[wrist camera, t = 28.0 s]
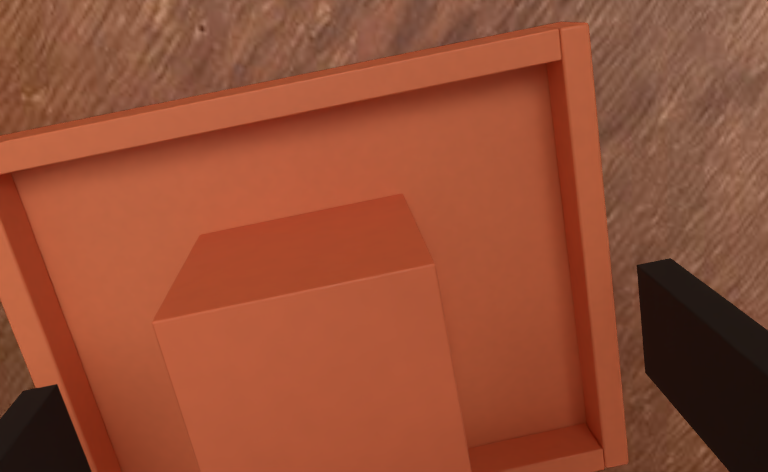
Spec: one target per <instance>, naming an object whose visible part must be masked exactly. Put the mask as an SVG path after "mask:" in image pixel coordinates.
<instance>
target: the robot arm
mask: <svg viewBox="0 0 768 472" xmlns="http://www.w3.org/2000/svg"><path fill="white" fill-rule="evenodd" d="M637 273H638V286H639V298H640V311H641V323H642V336H643V349H644V361H645V373H646V374H647V375H648V376H649V378H650V379H651V380H652V381H653V382H654V383H655V385H656V386H657V387H658V388H659V389H660V390H661V392H662V393H663V394H664V395H665V396H666V397H667V399H668V400H669V401H670V402H671V403H672V405H673V406H674V407H675V408H676V409H677V410H678V412H679V413H680V414H681V415H682V416H683V417H684V419H685V420H686V421H687V422H688V423H689V424H690V426H691V427H692V428H693V429H694V430H695V432H696V433H697V434H698V435H699V436H700V437H701V439H702V440H703V441H704V442H705V443H706V444H707V446H708V447H709V448H710V449H711V450H712V451H713V453H714V454H715V455H716V456H717V457H718V459H719V460H720V461H721V462H722V463H723V464H724V466H725V467H726V468H727V469H728V470H729V471H730V472H768V330H766V329H765V328H764V327H762V326H761V325H760V324H758V323H757V322H756V321H754V320H753V319H752V318H750V317H749V316H748V315H746V314H745V313H743V312H742V311H741V310H739V309H738V308H737V307H735V306H734V305H733V304H731V303H730V302H729V301H727V300H726V299H725V298H723V297H722V296H721V295H719V294H718V293H717V292H715V291H714V290H713V289H711V288H710V287H709V286H707V285H706V284H705V283H703V282H702V281H700V280H699V279H698V278H696V277H695V276H694V275H692V274H691V273H690V272H688V271H687V270H686V269H684V268H683V267H682V266H680V265H679V264H678V263H676V262H675V261H674V260H672V259H671V258H670V259H665V260H660V261H655V262H650V263H645V264H640V265H637ZM0 472H92V471H91V469H90V466H89V464H88V461H87V458H86V456H85V453H84V451H83V448H82V446H81V443H80V441H79V438H78V436H77V433H76V431H75V428H74V426H73V423H72V420H71V418H70V415H69V413H68V410H67V408H66V405H65V403H64V400H63V398H62V395H61V393H60V390H59V387H58V385H57V384H55V385H50V386H45V387H40V388H35V389H30V390H26V391H23V392H22V393H21V394H20V396H19V397H18V398H17V399H16V400H15V402H14V403H13V404H12V405H11V407H10V408H9V409H8V410H7V411H6V413H5V414H4V415H3V416H2V417H1V419H0Z"/></svg>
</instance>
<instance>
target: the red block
mask: <svg viewBox="0 0 768 472" xmlns="http://www.w3.org/2000/svg"><path fill="white" fill-rule="evenodd" d="M152 326H153V329H154V332H155V335H156V338H157V341H158V345H159V348H160V351H161V354H162V357H163V360H164V363H165V366H166V369H167V372H168V375H169V378H170V382H171V385H172V388H173V391H174V394H175V397H176V400H177V403H178V406H179V409H180V412H181V415H182V418H183V422H184V425H185V428H186V431H187V434H188V437H189V440H190V443H191V446H192V449H193V452H194V455H195V459H196V462H197V465H198V468H199V471H200V472H472V470H471V464H470V458H469V453H468V447H467V441H466V435H465V430H464V424H463V418H462V412H461V407H460V401H459V395H458V389H457V384H456V378H455V372H454V367H453V361H452V355H451V349H450V344H449V338H448V332H447V326H446V321H445V315H444V309H443V304H442V298H441V292H440V286H439V281H438V275H437V269H436V264H435V262H434V260H433V258H432V256H431V253H430V251H429V249H428V247H427V245H426V243H425V240H424V238H423V236H422V234H421V232H420V230H419V227H418V225H417V223H416V221H415V219H414V217H413V214H412V212H411V210H410V208H409V206H408V204H407V201H406V199H405V197H404V195H403V194H397V195H392V196H387V197H382V198H377V199H372V200H367V201H362V202H357V203H353V204H348V205H343V206H338V207H333V208H328V209H323V210H318V211H314V212H309V213H304V214H299V215H294V216H289V217H284V218H279V219H274V220H270V221H265V222H260V223H255V224H250V225H245V226H240V227H235V228H230V229H226V230H221V231H216V232H211V233H206V234H201V235H199V237H198V239H197V241H196V242H195V244H194V246H193V248H192V250H191V252H190V253H189V255H188V257H187V259H186V261H185V262H184V264H183V266H182V268H181V270H180V272H179V273H178V275H177V277H176V279H175V281H174V282H173V284H172V286H171V288H170V290H169V292H168V293H167V295H166V297H165V299H164V301H163V303H162V304H161V306H160V308H159V310H158V312H157V313H156V315H155V317H154V319H153V321H152Z"/></svg>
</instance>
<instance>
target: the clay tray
mask: <svg viewBox="0 0 768 472" xmlns="http://www.w3.org/2000/svg"><path fill="white" fill-rule="evenodd" d="M397 194H403V195H404V197H405V199H406V201H407V204H408V206H409V208H410V210H411V212H412V214H413V217H414V219H415V221H416V223H417V225H418V227H419V230H420V232H421V234H422V236H423V238H424V240H425V243H426V245H427V247H428V249H429V251H430V253H431V256H432V258H433V260H434V262H435V264H436V269H437V275H438V281H439V286H440V292H441V298H442V304H443V309H444V315H445V321H446V326H447V332H448V338H449V344H450V349H451V355H452V361H453V367H454V372H455V378H456V384H457V389H458V395H459V401H460V407H461V412H462V418H463V424H464V430H465V435H466V441H467V447H468V453H469V458H470V464H471V470H472V472H594V471H599V470H603V469H604V468H605V467H606V468H611V467H615V466H620V465H624V464H627V463H628V462H629V459H628V448H627V437H626V427H625V416H624V405H623V394H622V383H621V372H620V361H619V350H618V339H617V328H616V317H615V306H614V295H613V284H612V273H611V263H610V252H609V241H608V230H607V219H606V208H605V197H604V186H603V175H602V164H601V153H600V142H599V131H598V120H597V109H596V98H595V88H594V77H593V66H592V55H591V44H590V33H589V25H588V23H579V22H557V23H552V24H547V25H542V26H538V27H533V28H528V29H523V30H518V31H513V32H508V33H503V34H498V35H493V36H488V37H483V38H478V39H474V40H469V41H464V42H459V43H454V44H449V45H444V46H439V47H434V48H429V49H424V50H419V51H414V52H409V53H405V54H400V55H395V56H390V57H385V58H380V59H375V60H370V61H365V62H360V63H355V64H350V65H345V66H341V67H336V68H331V69H326V70H321V71H316V72H311V73H306V74H301V75H296V76H291V77H286V78H281V79H276V80H272V81H267V82H262V83H257V84H252V85H247V86H242V87H237V88H232V89H227V90H222V91H217V92H212V93H207V94H203V95H198V96H193V97H188V98H183V99H178V100H173V101H168V102H163V103H158V104H153V105H148V106H143V107H139V108H134V109H129V110H124V111H119V112H114V113H109V114H104V115H99V116H94V117H89V118H84V119H79V120H74V121H70V122H65V123H60V124H55V125H50V126H45V127H40V128H35V129H30V130H25V131H20V132H15V133H10V134H6V135H1V136H0V300H1V303H2V305H3V308H4V310H5V313H6V315H7V318H8V320H9V323H10V325H11V328H12V330H13V333H14V335H15V338H16V340H17V343H18V345H19V348H20V350H21V353H22V355H23V358H24V360H25V363H26V365H27V368H28V370H29V373H30V375H31V378H32V380H33V382H34V385H35V387H36V388H40V387H45V386H50V385H55V384H57V385H58V387H59V390H60V393H61V395H62V398H63V400H64V403H65V405H66V408H67V410H68V413H69V415H70V418H71V420H72V423H73V426H74V428H75V431H76V433H77V436H78V438H79V441H80V443H81V446H82V448H83V451H84V453H85V456H86V458H87V461H88V464H89V466H90V469H91V471H92V472H200V471H199V468H198V465H197V462H196V459H195V455H194V452H193V449H192V446H191V443H190V440H189V437H188V434H187V431H186V428H185V425H184V422H183V418H182V415H181V412H180V409H179V406H178V403H177V400H176V397H175V394H174V391H173V388H172V385H171V382H170V378H169V375H168V372H167V369H166V366H165V363H164V360H163V357H162V354H161V351H160V348H159V345H158V341H157V338H156V335H155V332H154V329H153V326H152V321H153V319H154V317H155V315H156V313H157V312H158V310H159V308H160V306H161V304H162V303H163V301H164V299H165V297H166V295H167V293H168V292H169V290H170V288H171V286H172V284H173V282H174V281H175V279H176V277H177V275H178V273H179V272H180V270H181V268H182V266H183V264H184V262H185V261H186V259H187V257H188V255H189V253H190V252H191V250H192V248H193V246H194V244H195V242H196V241H197V239H198V237H199V235H201V234H206V233H211V232H216V231H221V230H226V229H230V228H235V227H240V226H245V225H250V224H255V223H260V222H265V221H270V220H274V219H279V218H284V217H289V216H294V215H299V214H304V213H309V212H314V211H318V210H323V209H328V208H333V207H338V206H343V205H348V204H353V203H357V202H362V201H367V200H372V199H377V198H382V197H387V196H392V195H397ZM604 466H605V467H604Z"/></svg>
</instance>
